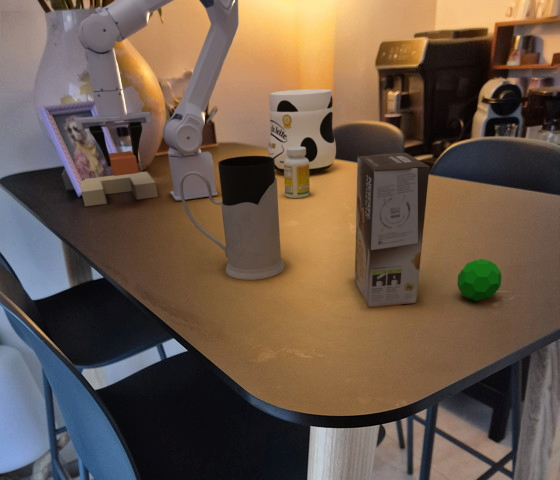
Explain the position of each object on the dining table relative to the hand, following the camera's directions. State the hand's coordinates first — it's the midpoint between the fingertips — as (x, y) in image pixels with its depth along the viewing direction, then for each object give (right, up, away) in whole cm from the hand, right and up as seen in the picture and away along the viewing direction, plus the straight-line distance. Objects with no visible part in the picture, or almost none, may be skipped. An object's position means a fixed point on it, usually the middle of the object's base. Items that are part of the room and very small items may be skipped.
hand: (122, 164), depth 108 cm
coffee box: (+47, -33, -41) cm, 70 cm away
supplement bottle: (+37, -5, +4) cm, 37 cm away
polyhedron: (+57, -35, -44) cm, 80 cm away
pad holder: (-5, -2, +13) cm, 14 cm away
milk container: (+39, +9, +26) cm, 48 cm away
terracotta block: (0, -1, +1) cm, 1 cm away
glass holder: (+27, -28, -31) cm, 50 cm away
